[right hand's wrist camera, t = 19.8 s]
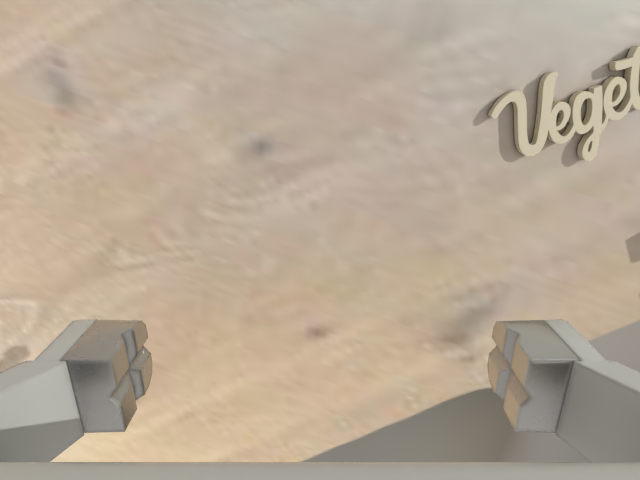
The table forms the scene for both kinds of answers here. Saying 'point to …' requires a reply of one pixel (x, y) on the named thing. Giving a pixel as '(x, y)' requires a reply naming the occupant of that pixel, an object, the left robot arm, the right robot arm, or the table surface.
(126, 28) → the table surface
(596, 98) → the decorative sign
